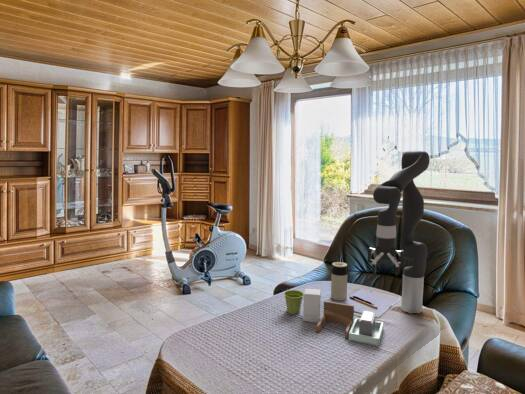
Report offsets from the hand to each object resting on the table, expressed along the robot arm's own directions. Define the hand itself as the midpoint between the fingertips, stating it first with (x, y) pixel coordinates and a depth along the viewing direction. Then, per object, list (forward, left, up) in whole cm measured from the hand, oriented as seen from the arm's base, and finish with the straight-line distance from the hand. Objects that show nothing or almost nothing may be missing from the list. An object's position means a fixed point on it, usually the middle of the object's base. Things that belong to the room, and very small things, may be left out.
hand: (385, 273), depth 158 cm
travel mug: (-29, -25, -25) cm, 46 cm away
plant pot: (-4, -41, -25) cm, 48 cm away
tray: (+6, -6, -25) cm, 26 cm away
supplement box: (0, -31, -25) cm, 40 cm away
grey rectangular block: (+6, -6, -24) cm, 26 cm away
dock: (+6, -19, -25) cm, 32 cm away
